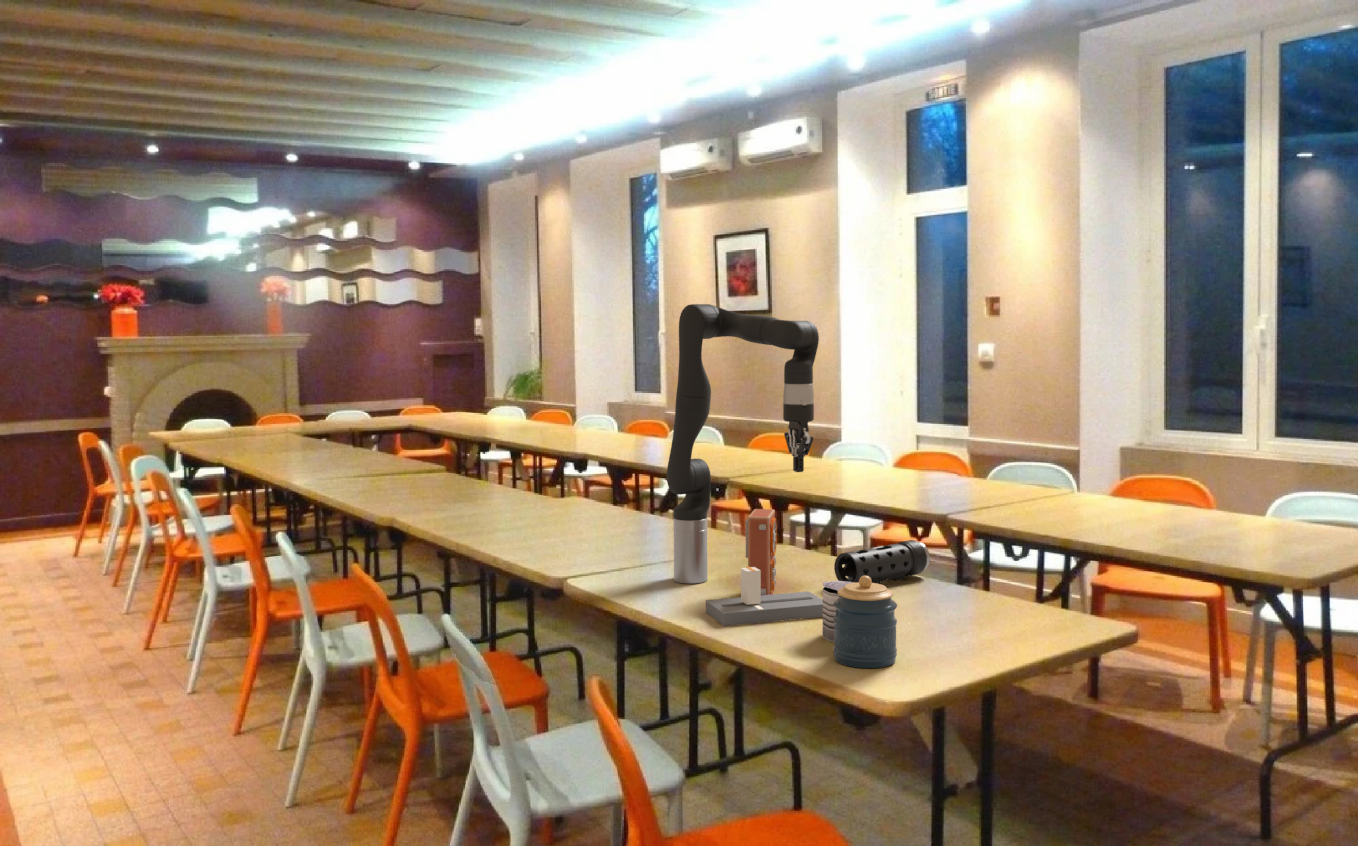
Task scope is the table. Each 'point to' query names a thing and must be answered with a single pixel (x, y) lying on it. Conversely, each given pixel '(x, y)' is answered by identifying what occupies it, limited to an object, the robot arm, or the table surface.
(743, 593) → the fader tab
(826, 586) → the can
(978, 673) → the table surface
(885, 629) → the canister
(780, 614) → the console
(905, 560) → the muzzle brake
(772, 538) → the control panel
